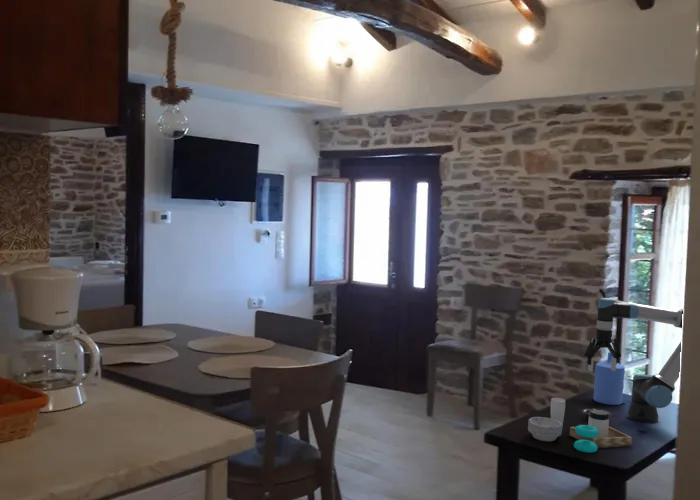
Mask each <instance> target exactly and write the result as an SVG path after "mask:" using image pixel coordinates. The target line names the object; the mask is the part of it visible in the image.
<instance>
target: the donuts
mask: <svg viewBox="0 0 700 500" xmlns="http://www.w3.org/2000/svg"><path fill="white" fill-rule="evenodd" d="M574 427H575V432H576V433H577V434H578V435H580V436H583V437H589V438H591V437H596V436H597V435H598V433H599V431H598V429H597V428H595V427H593V426H589V425H588V424H578V425H576V426H574ZM573 447H574V449H576V451H579V452H583V453H589V454H591V453H596V452H597V451H598V449H599V448H598V447H597V445H596V444H595V443H594V442H592V441H589V440H578V439H576V441H574V442H573Z"/></svg>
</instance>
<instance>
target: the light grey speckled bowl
mask: <svg viewBox="0 0 700 500" xmlns="http://www.w3.org/2000/svg"><path fill="white" fill-rule="evenodd" d="M527 424H528V426H527V430H528V432H529V433H530V434H531V435H532V438H534V439H536V440H538V441H542V442H554V441H556V439H557V438H558V437H561V436H562V433H563V426H562V423H561V422H559V421H557V420H555V419H551V417H543V416H533V417H529V419H528V423H527Z"/></svg>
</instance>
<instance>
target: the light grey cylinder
mask: <svg viewBox="0 0 700 500" xmlns="http://www.w3.org/2000/svg"><path fill="white" fill-rule="evenodd" d="M565 413H566V399H564V398H561V397H552V398H551V399H550V418H551V419H555V420H557V421H559V422H561V423H562V427H564V426H563V424H564V419H565V418H564V417H565Z"/></svg>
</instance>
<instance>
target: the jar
mask: <svg viewBox="0 0 700 500" xmlns="http://www.w3.org/2000/svg"><path fill="white" fill-rule="evenodd" d="M587 423H588V424H587V425H589V426H593V427H595V428H597V429H598V431H599V433H598V435H597V436H596V437H593V438H595V439H596V438H608V428H609V427H610V425H609V424H610V419H609V413H608V412H607V411H604V410H599V409H591V410H590V411H589V416H588V422H587Z"/></svg>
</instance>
